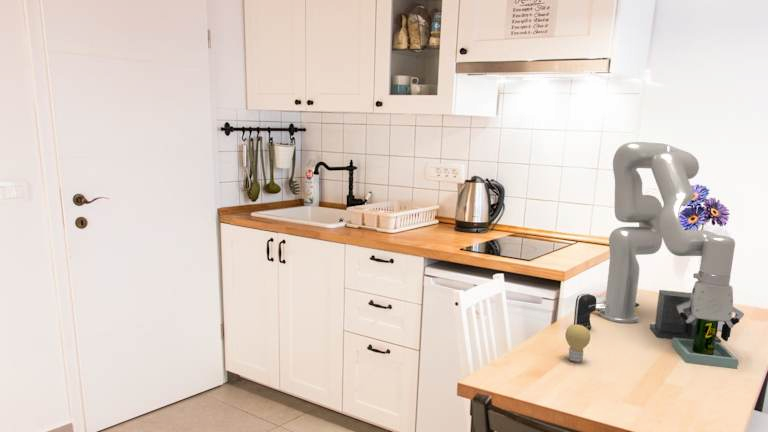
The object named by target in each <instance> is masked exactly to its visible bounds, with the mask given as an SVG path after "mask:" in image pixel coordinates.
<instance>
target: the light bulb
mask: <svg viewBox="0 0 768 432" xmlns="http://www.w3.org/2000/svg"><path fill="white" fill-rule="evenodd" d="M565 340H566V343H567V344H568V346H569V348H568V359H569V360H570V361H571V362H574V363H580V362H582V361H583V358H584V349H585V348H586V347H588V345H589V344H590V341H591V333H590V331H589V330H588V329H587V328H586V327H584V326H582V325H574V324H572V325H570V326H568V327H567V328H566V330H565Z"/></svg>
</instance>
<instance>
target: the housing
mask: <svg viewBox="0 0 768 432" xmlns="http://www.w3.org/2000/svg"><path fill="white" fill-rule="evenodd" d="M691 293H692V292H688V291H687V292H685V291H677V290H676V291H674V290H665V289H659V292H658V297H657V306H656V313H655V319H654V320H655V322H654V323H650V325H649V329H650V331H652V333H653V334H654V336H655V337H656V338H658V339H664V338H665V340H673V338H682V339H691V340H694V334H695V327H696V320H697V318H695V319H694V320H693V321H691V323H692V330H691V337H687V336H686V335H685V333H684V332H683V328H684V320H683V318H682V317H681V316H680V315H679V313H678V311H677V308H676V306H677V305H679V304H682V303H685V302H688V301H690V297H691ZM688 308H689V307H688ZM688 308H685V309H683V311H684V314H685V315H686V314H688V313H689V311H688ZM716 342H718V343H721V344H722V340H721V338H719V337H718V336H717V335H716Z"/></svg>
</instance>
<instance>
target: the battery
mask: <svg viewBox="0 0 768 432" xmlns="http://www.w3.org/2000/svg"><path fill="white" fill-rule="evenodd" d="M596 303H597V297H596V296H595V295H594V294H590V293H583V294H582V293H581V294H579V295H578V296H576V300H575V307H574V316H573V317H574V318H573V325H582V326H584V327H586V328H587V329H588V330H592V325H591V319H590V318H591V313H595V312H596V311H597V310H596Z"/></svg>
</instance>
